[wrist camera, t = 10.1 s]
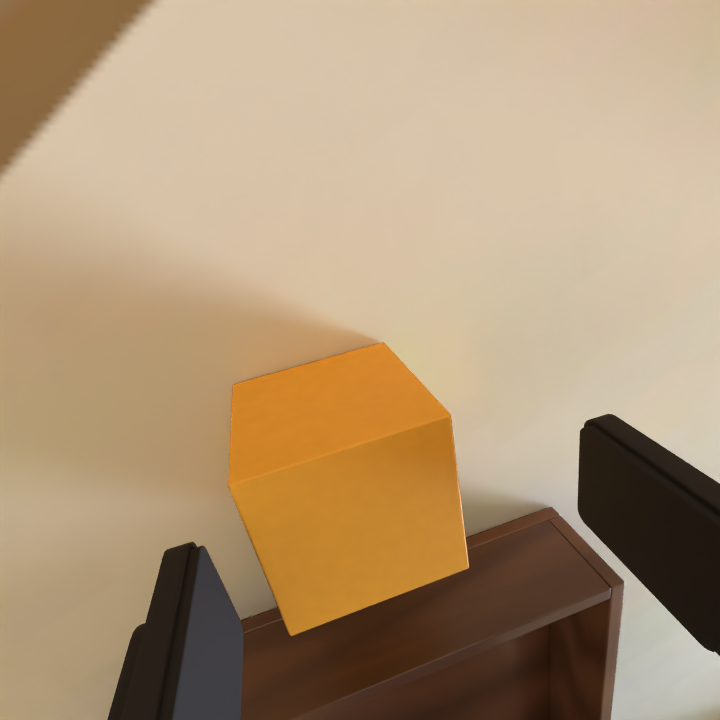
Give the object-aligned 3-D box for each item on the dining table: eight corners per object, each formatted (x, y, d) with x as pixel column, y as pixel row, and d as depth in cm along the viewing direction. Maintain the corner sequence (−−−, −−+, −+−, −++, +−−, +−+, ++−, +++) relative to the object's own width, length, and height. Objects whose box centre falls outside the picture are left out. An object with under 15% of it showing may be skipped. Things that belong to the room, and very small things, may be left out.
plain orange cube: (384, 341, 14) (451, 414, 9) (406, 461, 16) (470, 569, 11) (232, 384, 13) (226, 486, 9) (276, 504, 15) (289, 637, 11)
